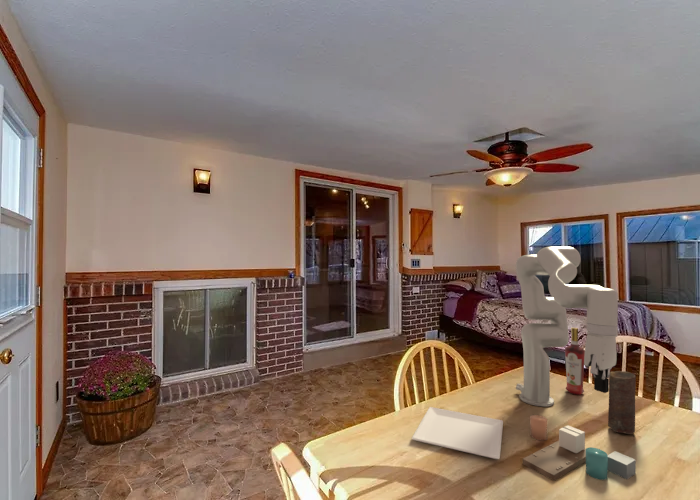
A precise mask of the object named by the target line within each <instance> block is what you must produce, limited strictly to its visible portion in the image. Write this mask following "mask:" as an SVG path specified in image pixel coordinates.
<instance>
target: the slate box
mask: <svg viewBox="0 0 700 500" xmlns="http://www.w3.org/2000/svg"><path fill="white" fill-rule="evenodd" d="M607 455H608V472H610V473H612V474H614V475H616V476H618V477H621V478H623V479H625V480H629V479H630V478H631V477H633V476H635V475H636V471H637V470H636V469H637V467H636V462H637V461H636V460H637V459H635V458H633V457H630V456H627V455H625V454H623V453H621V452H619V451H616V450H614V451H613V452H611V453H609V454H607Z"/></svg>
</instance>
